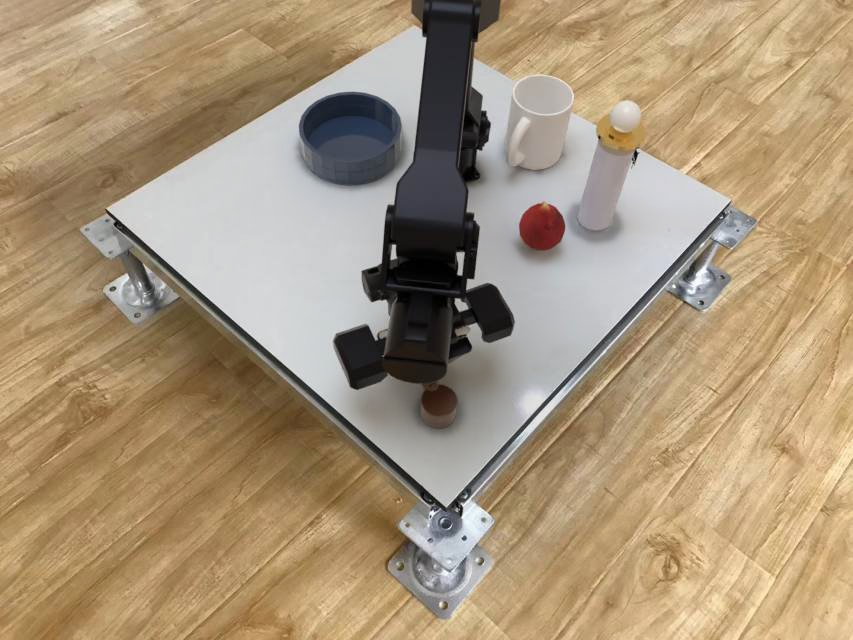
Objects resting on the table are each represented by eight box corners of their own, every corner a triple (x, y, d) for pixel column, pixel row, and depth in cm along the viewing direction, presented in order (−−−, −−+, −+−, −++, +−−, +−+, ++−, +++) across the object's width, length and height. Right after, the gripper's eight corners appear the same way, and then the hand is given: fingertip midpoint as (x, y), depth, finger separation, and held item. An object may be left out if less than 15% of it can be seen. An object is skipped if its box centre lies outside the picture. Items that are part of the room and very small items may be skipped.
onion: (564, 236, 102) (575, 194, 96) (554, 268, 99) (564, 227, 92) (522, 224, 103) (530, 182, 96) (510, 255, 100) (518, 214, 93)
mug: (529, 196, 106) (540, 139, 98) (479, 170, 109) (485, 113, 100) (571, 147, 112) (585, 90, 103) (522, 124, 114) (532, 66, 106)
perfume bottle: (595, 244, 101) (632, 128, 85) (563, 219, 104) (593, 101, 87) (623, 223, 104) (665, 106, 87) (591, 199, 106) (626, 80, 89)
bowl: (380, 106, 116) (379, 82, 112) (416, 169, 108) (417, 145, 105) (289, 130, 112) (285, 105, 108) (321, 196, 105) (318, 172, 101)
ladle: (461, 421, 86) (463, 407, 84) (429, 433, 85) (429, 419, 83) (427, 352, 91) (427, 336, 89) (395, 362, 90) (395, 347, 88)
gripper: (477, 210, 81) (467, 296, 94) (309, 261, 77) (322, 344, 90) (525, 288, 76) (507, 368, 89) (347, 349, 71) (355, 424, 84)
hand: (423, 373), depth 88 cm, fingers closed on ladle, 2 cm apart
